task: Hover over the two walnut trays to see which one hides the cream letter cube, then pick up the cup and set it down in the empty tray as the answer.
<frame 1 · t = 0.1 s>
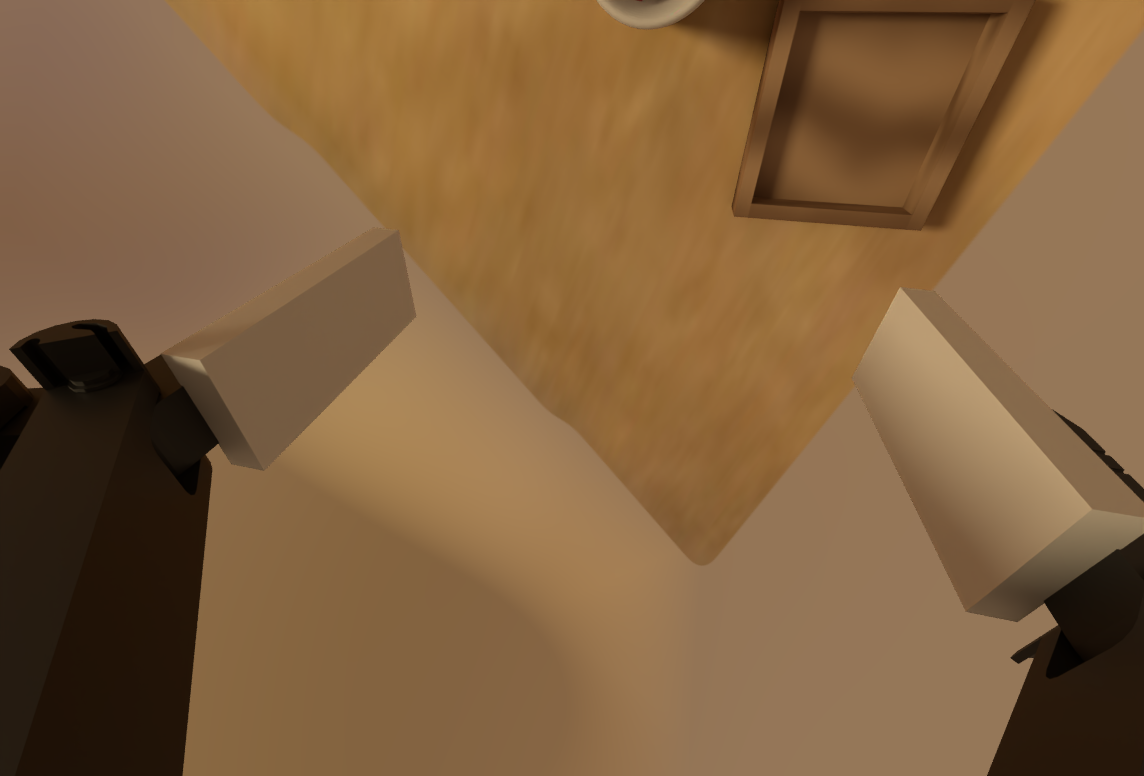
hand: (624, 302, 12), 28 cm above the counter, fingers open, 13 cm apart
tray B: (850, 116, 31), on the counter
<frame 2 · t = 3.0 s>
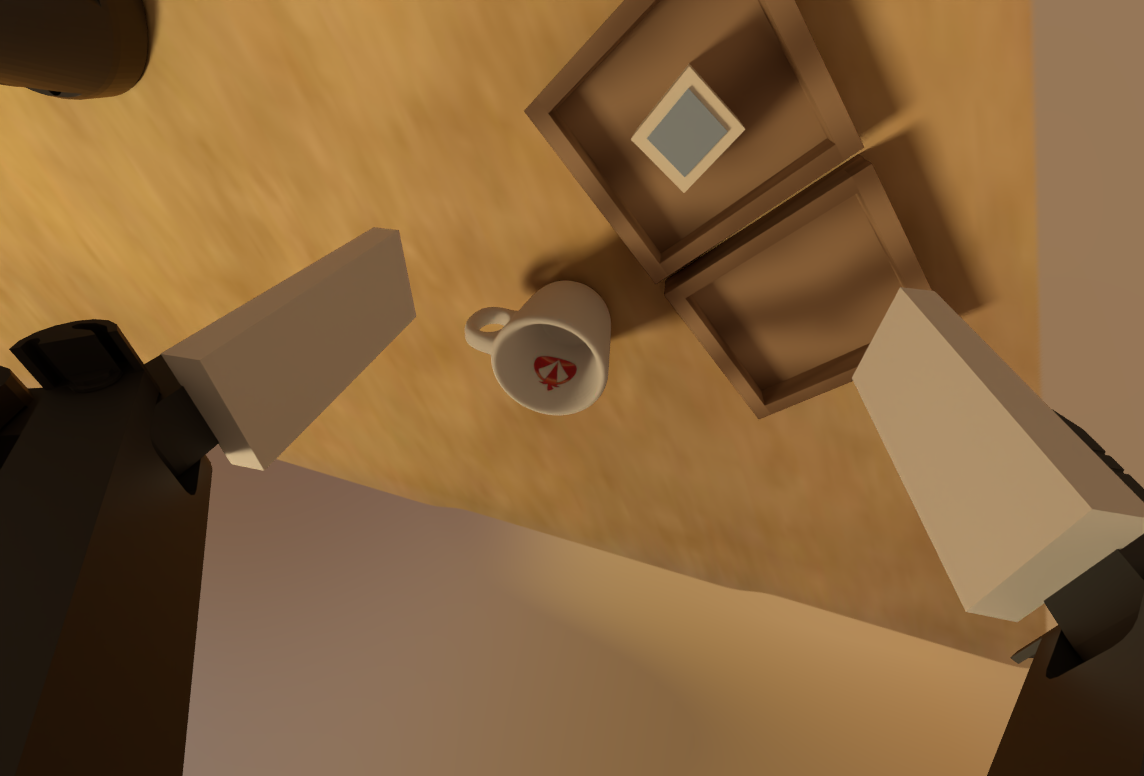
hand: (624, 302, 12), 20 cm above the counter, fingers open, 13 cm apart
cup: (555, 308, 36), on the counter
tray A: (686, 121, 26), on the counter
tray B: (797, 299, 31), on the counter
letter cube: (686, 123, 26), point 1 cm above the counter, touching tray A
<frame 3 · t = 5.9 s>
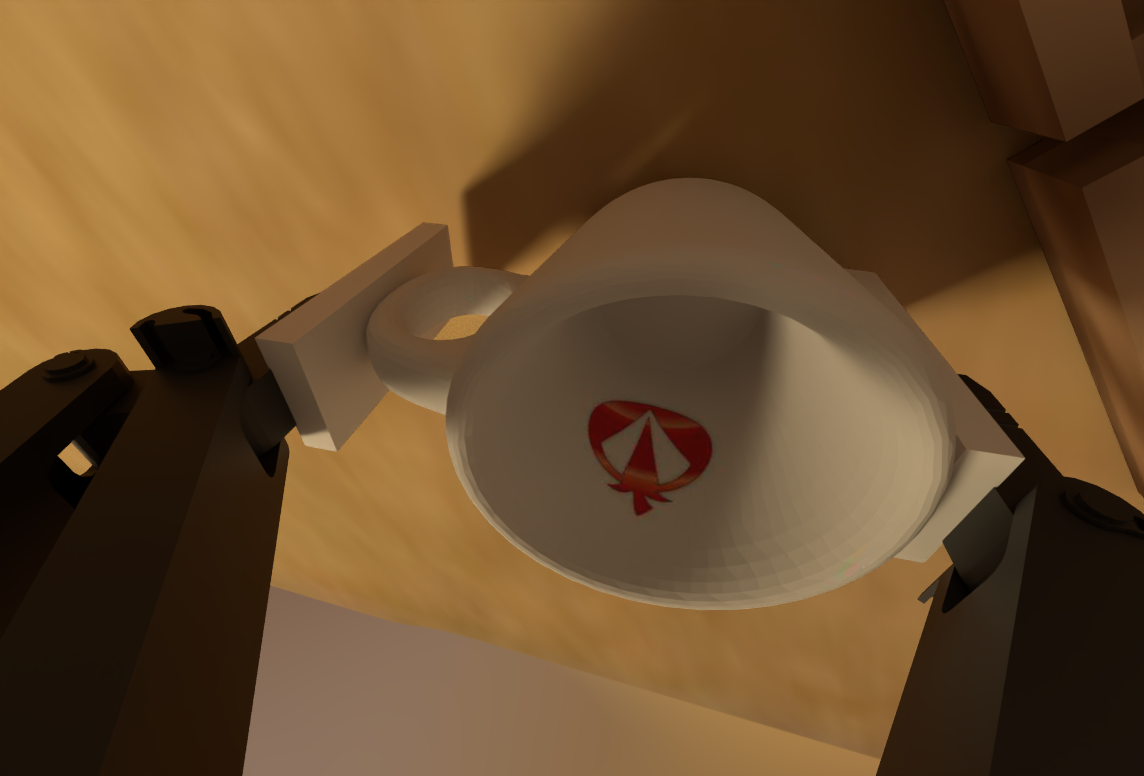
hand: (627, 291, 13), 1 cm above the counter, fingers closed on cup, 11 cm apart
cup: (631, 274, 14), on the counter, touching gripper
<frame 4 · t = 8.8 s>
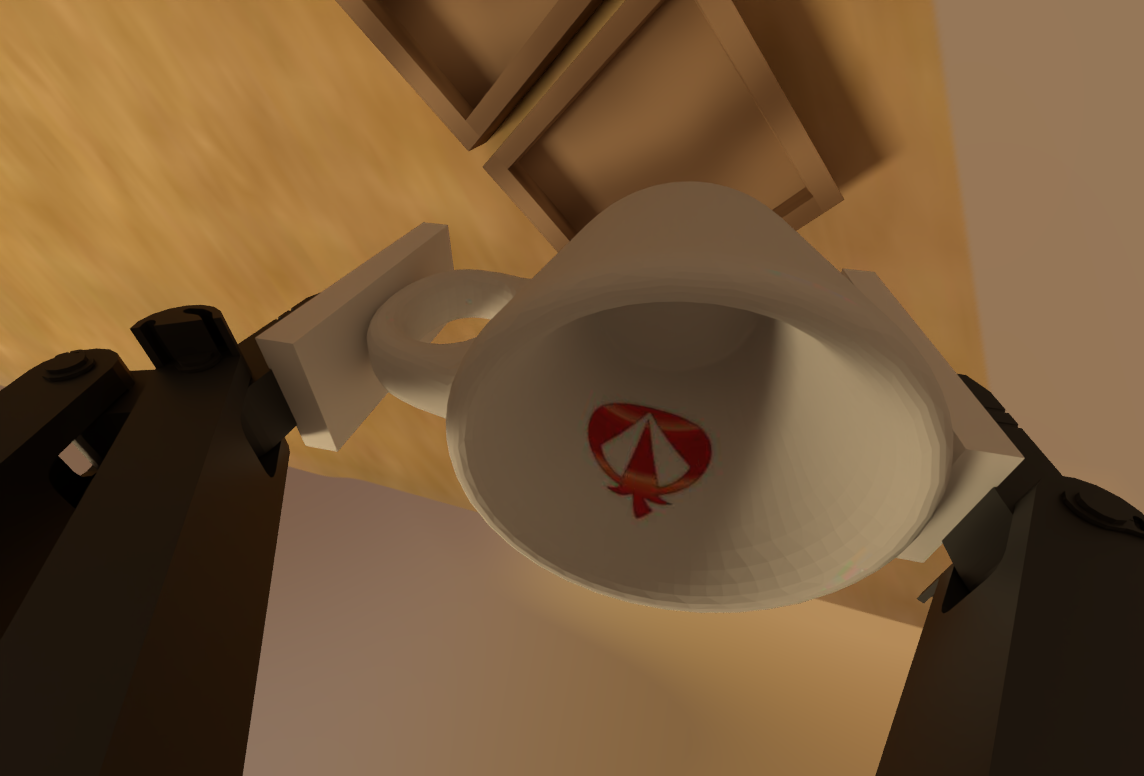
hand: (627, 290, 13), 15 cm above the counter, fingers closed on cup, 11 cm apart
cup: (631, 277, 14), point 14 cm above the counter, touching gripper
tray B: (656, 171, 25), on the counter
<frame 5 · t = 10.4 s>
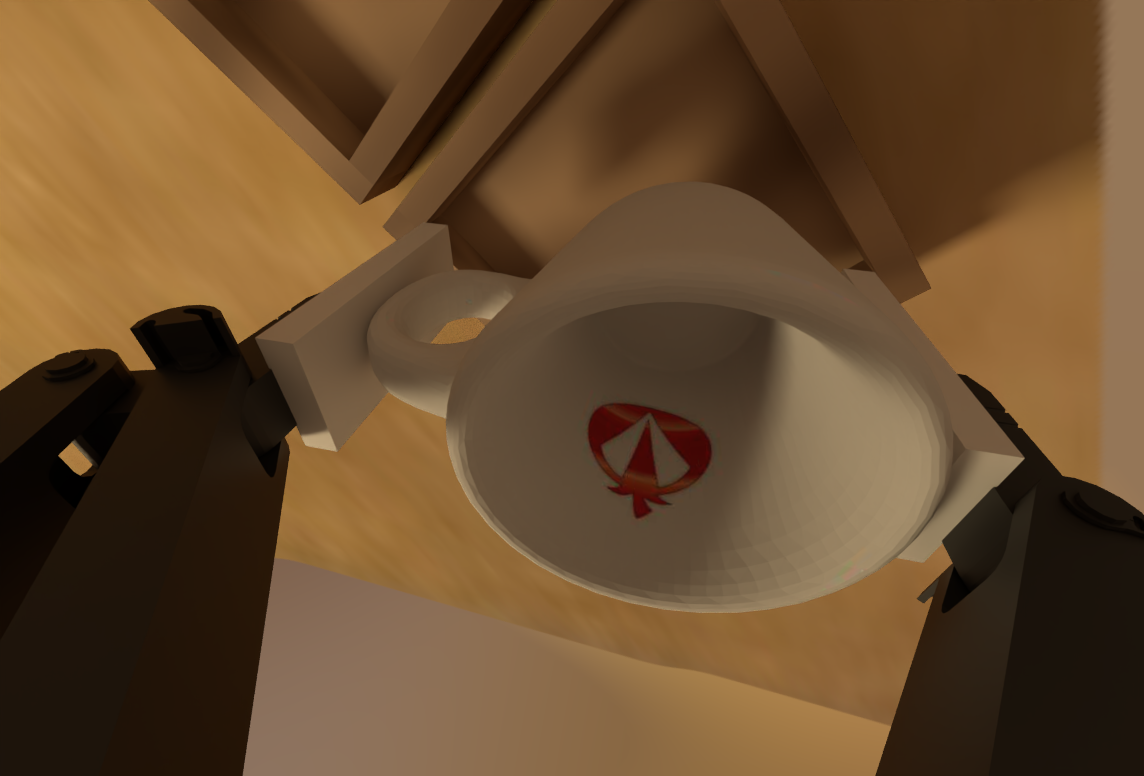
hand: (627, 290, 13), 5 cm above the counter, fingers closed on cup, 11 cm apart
cup: (631, 277, 14), point 4 cm above the counter, touching gripper
tray B: (640, 230, 17), on the counter
when the fingers open (4 cm above the counter, at t = 11.7 s): cup drops 2 cm, resting on tray B.
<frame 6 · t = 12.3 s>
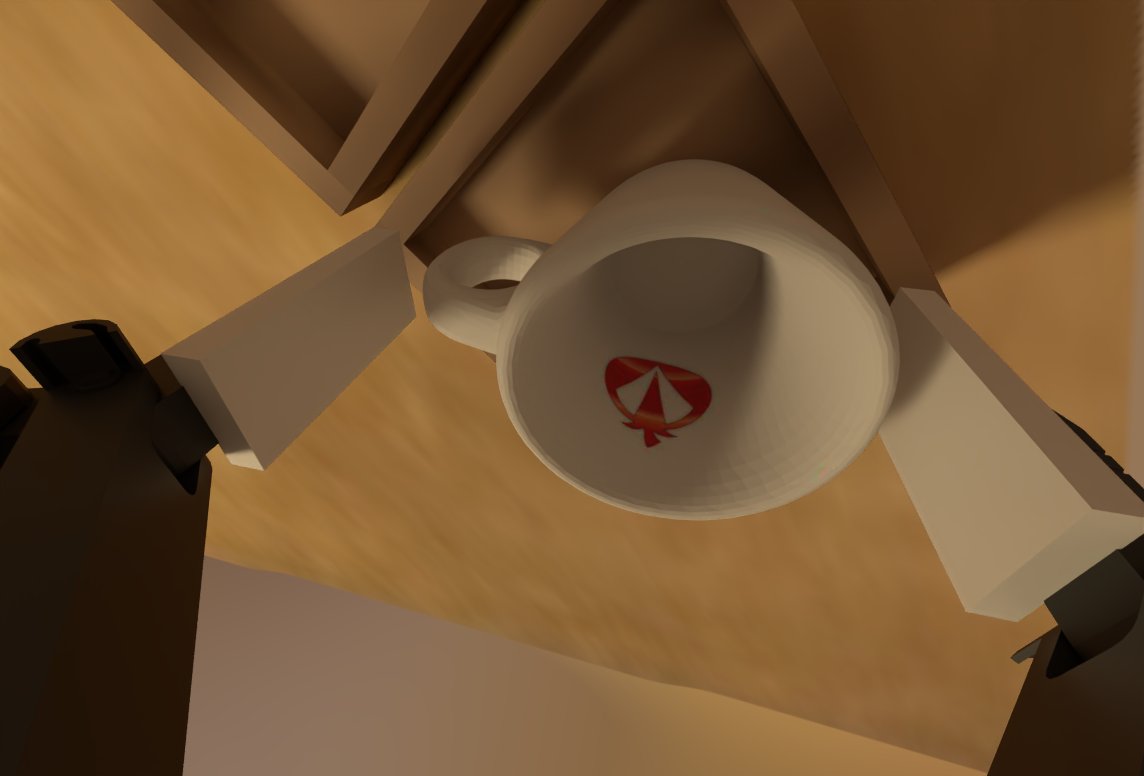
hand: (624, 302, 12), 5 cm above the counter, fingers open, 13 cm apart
cup: (641, 248, 16), resting on tray B
tray B: (639, 243, 16), on the counter
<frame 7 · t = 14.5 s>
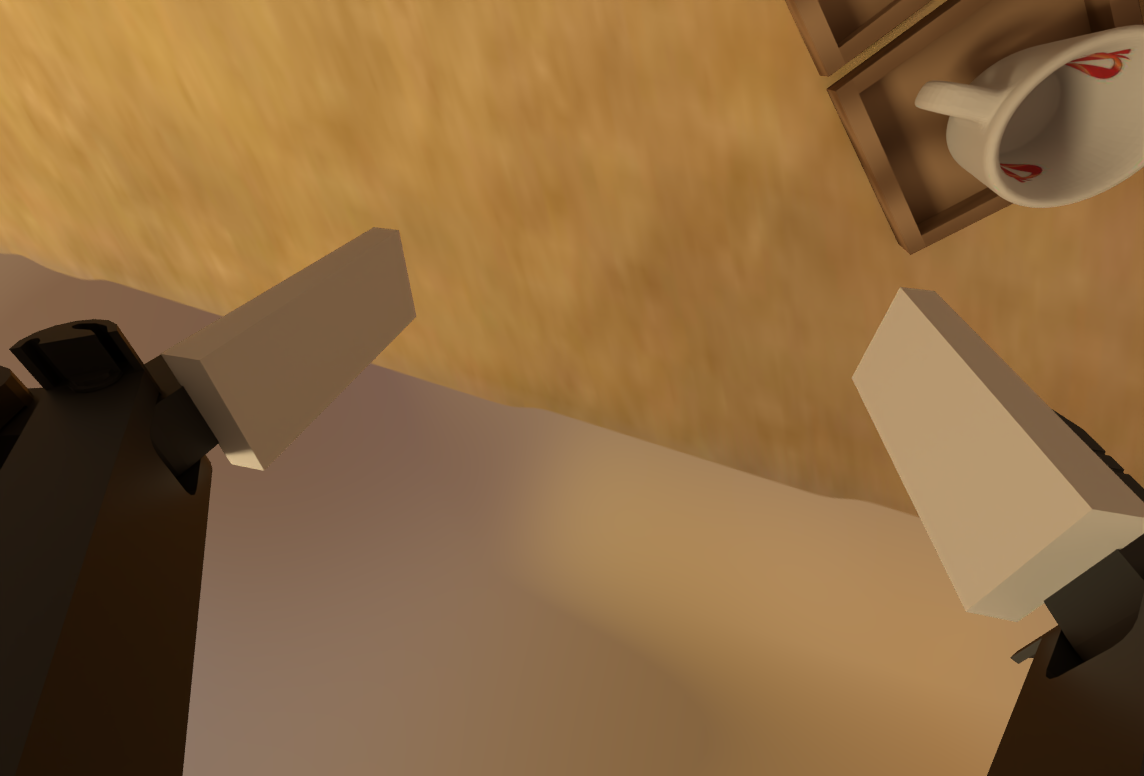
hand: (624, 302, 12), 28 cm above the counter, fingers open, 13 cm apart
cup: (977, 106, 29), resting on tray B
tray B: (972, 105, 29), on the counter
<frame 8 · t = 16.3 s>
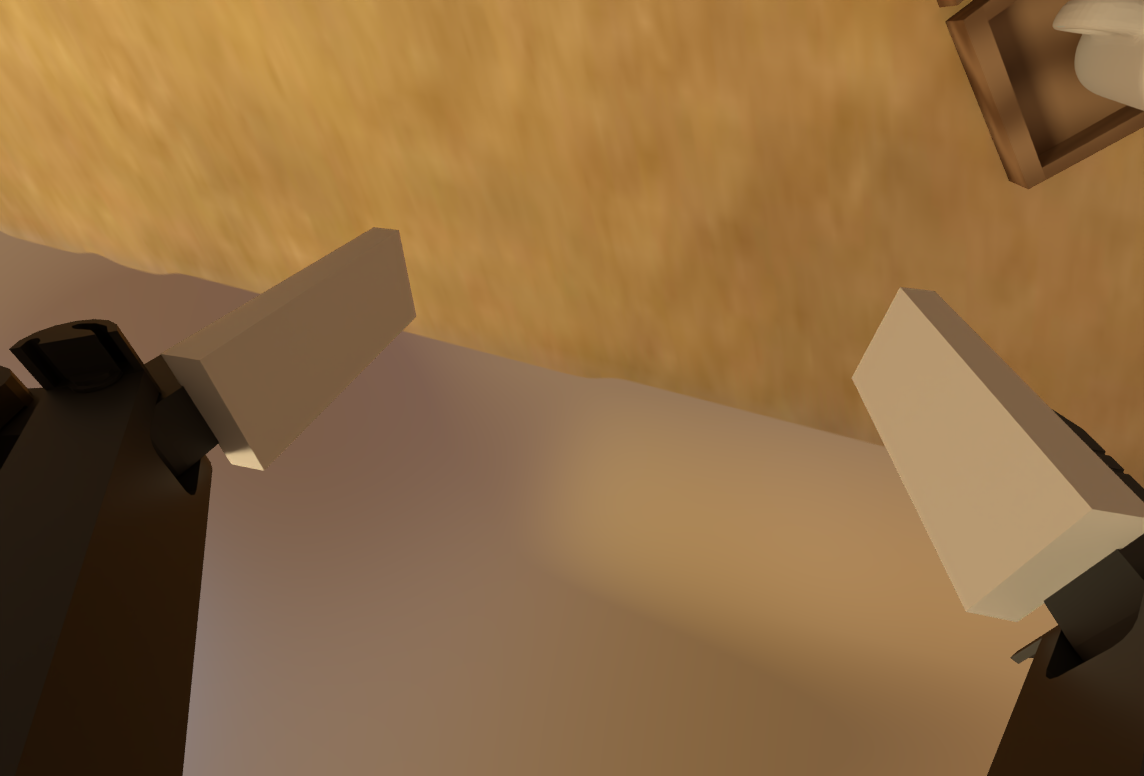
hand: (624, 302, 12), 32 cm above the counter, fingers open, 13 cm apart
cup: (1108, 28, 28), resting on tray B
tray B: (1101, 27, 29), on the counter
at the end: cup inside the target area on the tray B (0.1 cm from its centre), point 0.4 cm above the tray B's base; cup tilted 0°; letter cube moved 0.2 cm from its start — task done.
